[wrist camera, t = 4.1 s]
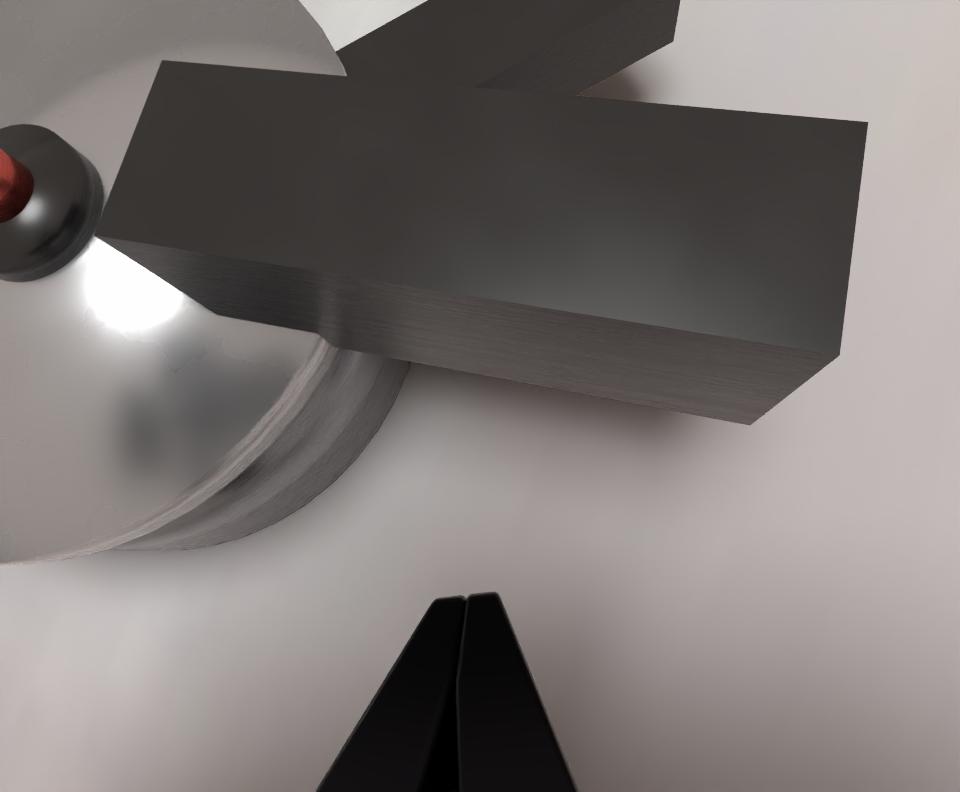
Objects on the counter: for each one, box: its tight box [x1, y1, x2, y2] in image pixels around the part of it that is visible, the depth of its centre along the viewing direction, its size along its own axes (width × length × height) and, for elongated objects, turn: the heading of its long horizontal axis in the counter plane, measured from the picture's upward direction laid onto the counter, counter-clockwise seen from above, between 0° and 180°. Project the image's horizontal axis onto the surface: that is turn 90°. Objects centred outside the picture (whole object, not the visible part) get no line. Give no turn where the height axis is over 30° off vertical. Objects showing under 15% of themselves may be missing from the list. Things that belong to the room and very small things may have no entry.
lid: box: [0, 0, 868, 565], centre depth 12 cm, size 22×15×4 cm, turn 77°
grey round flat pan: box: [111, 0, 680, 550], centre depth 17 cm, size 25×14×4 cm, turn 117°
